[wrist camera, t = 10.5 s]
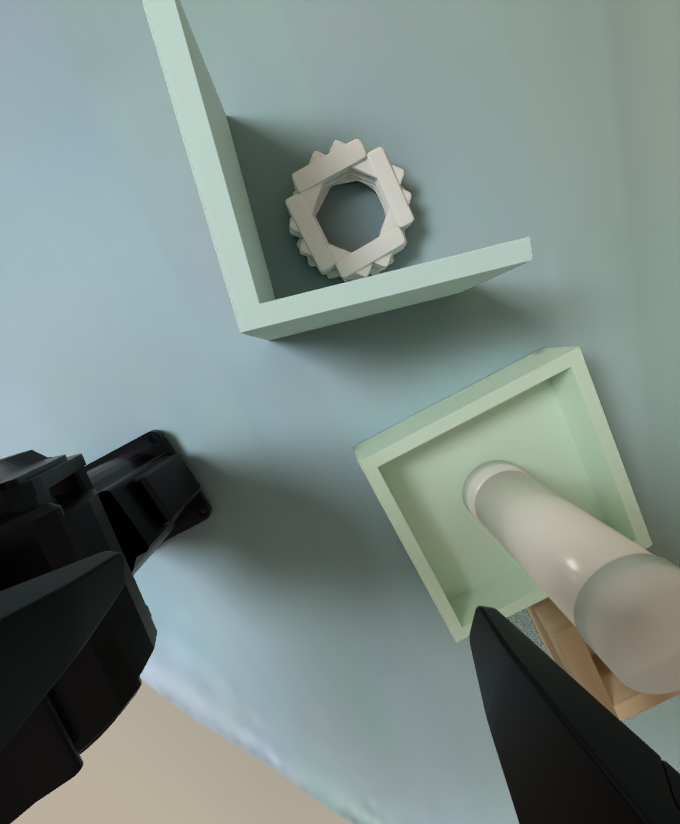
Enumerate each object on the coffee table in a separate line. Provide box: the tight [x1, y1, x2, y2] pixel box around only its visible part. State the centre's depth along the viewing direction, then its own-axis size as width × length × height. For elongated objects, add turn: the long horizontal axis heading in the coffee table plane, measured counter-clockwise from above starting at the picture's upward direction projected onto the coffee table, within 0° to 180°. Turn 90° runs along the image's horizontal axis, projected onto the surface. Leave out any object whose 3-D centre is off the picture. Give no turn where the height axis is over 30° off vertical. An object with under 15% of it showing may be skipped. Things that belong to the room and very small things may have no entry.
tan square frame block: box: [526, 550, 680, 721], centre depth 22 cm, size 8×8×4 cm
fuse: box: [462, 460, 680, 694], centre depth 16 cm, size 4×4×11 cm
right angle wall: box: [142, 0, 532, 341], centre depth 15 cm, size 12×12×8 cm
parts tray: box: [353, 347, 653, 642], centre depth 20 cm, size 14×14×3 cm
